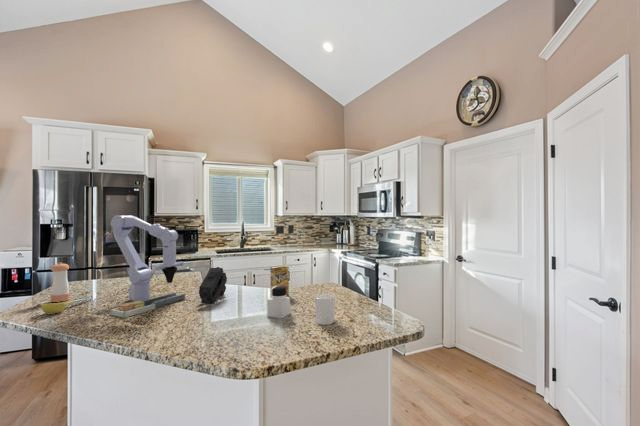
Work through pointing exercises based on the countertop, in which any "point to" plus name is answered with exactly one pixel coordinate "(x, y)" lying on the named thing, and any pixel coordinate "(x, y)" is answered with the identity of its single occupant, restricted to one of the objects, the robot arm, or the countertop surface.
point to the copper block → (126, 307)
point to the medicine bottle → (278, 303)
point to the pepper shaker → (60, 283)
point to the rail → (164, 300)
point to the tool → (213, 285)
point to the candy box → (280, 277)
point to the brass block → (138, 304)
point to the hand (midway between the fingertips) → (169, 282)
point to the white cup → (325, 308)
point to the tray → (132, 312)
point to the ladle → (56, 307)
